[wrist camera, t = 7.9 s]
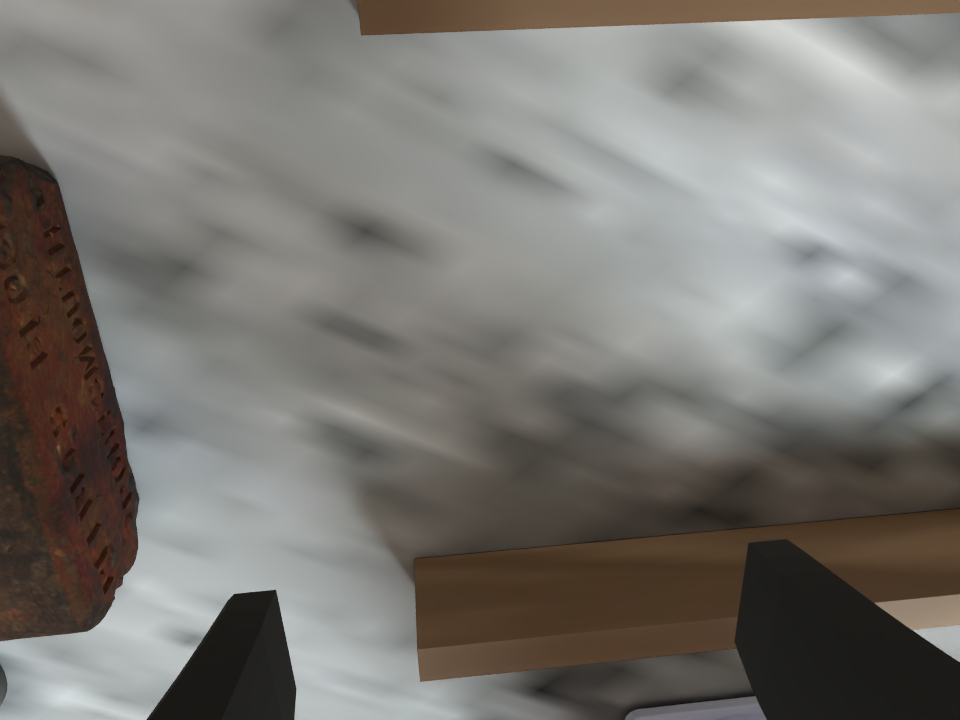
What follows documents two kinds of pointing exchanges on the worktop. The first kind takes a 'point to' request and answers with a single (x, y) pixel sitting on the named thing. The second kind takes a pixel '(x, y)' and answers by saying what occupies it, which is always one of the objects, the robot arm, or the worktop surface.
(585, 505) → the worktop surface
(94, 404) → the brick
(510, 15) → the wooden frame
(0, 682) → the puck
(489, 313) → the worktop surface
